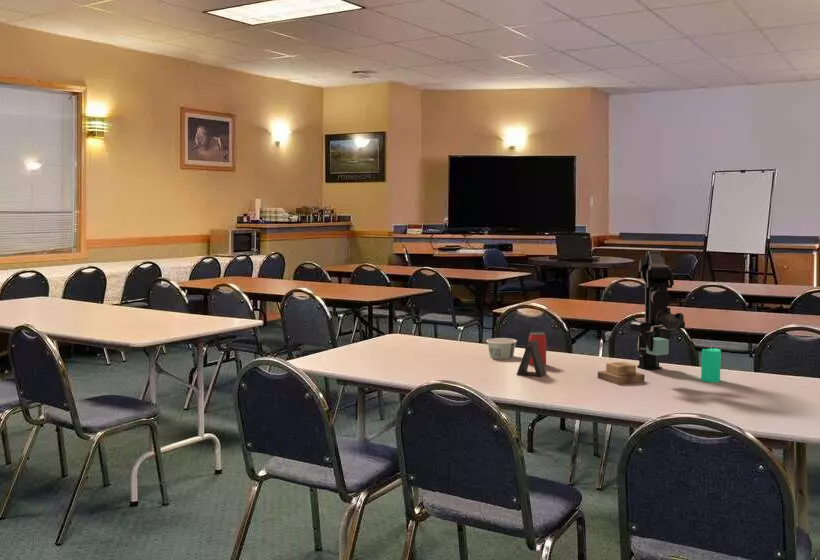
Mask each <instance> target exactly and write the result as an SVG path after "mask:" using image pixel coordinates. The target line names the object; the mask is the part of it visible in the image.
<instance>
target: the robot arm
mask: <svg viewBox="0 0 820 560" xmlns="http://www.w3.org/2000/svg"><path fill="white" fill-rule="evenodd" d="M665 263H666V262H665V257H664V256H663V255H662V251H660V250H658V251H657V250H652V251H651V250H650V251H649V250H648V251H646V254H645V255H643V256H641V257H640V258H639V265H638V268H639V269H638V271H639V273H640V277H641V279H642V280H643V282H644V285H645V286H644V287H645V288H644V296H645V297H644V321H643V320H637V321H636V320H635V321H631V323H630V325H629V326H630V327H629V329H630V330H631V331H634V332H635V331H636V332H638V333H640V334H639V335H638V337H637V352H639V357H638V360H639V361H638V364H637V365H636V368H641V369H644V370H649V371H650V370H659V369H660V370H661V369H663V366H660V355H658V356H656V355H652V354H648V353H646V344H647V347H648V349H649V351H653V338H656V337H660V338H664V339H669V340H670V338H671V336H672V335H673V334H674V333H676V332H677V331H678V330H680V329H682V330H683V329H685V328H686V322H685V318H684V317H685V316H684V314H683V313H682V312H678V313H677V312H676V313H671V307H669V306H670V304H671V303H672V297H671V294H670V292H668V289H673V286H674V285H675V284H674V283H675V281H674V274H673V272H672V270H671V269H670V266H668V265H667V264H665Z"/></svg>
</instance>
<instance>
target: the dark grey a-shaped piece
mask: <svg viewBox="0 0 820 560" xmlns="http://www.w3.org/2000/svg"><path fill="white" fill-rule="evenodd" d="M531 344H532V345H531ZM531 355H532V360H533V364H534V366H533V368H534V371H530V370H529V371H528V368H529V366H530V365H529V362H530V358H531ZM546 374H547V371H546V368H545V365H544V364H543V361H542V358H541V355H540V352H539V349H538V341H537V340H534V341H533V340H531V341H529V340H528V341H527V342H526V343H525V345H524V354H523V356H522V358H521V361H520V364H519V366H518V369H517V372H516V376H522V377H534V378H542V377H543V376H545V375H546Z"/></svg>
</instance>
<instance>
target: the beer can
mask: <svg viewBox="0 0 820 560" xmlns="http://www.w3.org/2000/svg"><path fill="white" fill-rule="evenodd" d="M531 340H533V341H534V340H537V341H538V349H539V352H540V355H541V358H542V361H543V364H544V366H545V365H546V364H547V337H546V333H545V332H543V331H532V332H529V336H528V342H529V341H531ZM531 345H532V344H531ZM528 366H533V367H534V364H533V360H532V355H531V358H530V362H529V365H528Z"/></svg>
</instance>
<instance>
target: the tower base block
mask: <svg viewBox="0 0 820 560" xmlns="http://www.w3.org/2000/svg"><path fill="white" fill-rule="evenodd" d="M597 379H599V380H602V381H605V382H607V383H611V384H615V385H619V386H620V385H625V384H626V385H627V384H634V383H635V384H636V383H642V382H643V383H644V382H645V374H643V373H641V372H637V371H636V374H632V375H620V376H617V375H614V374H611V373H608V372H606V370H599V371H597Z"/></svg>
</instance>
